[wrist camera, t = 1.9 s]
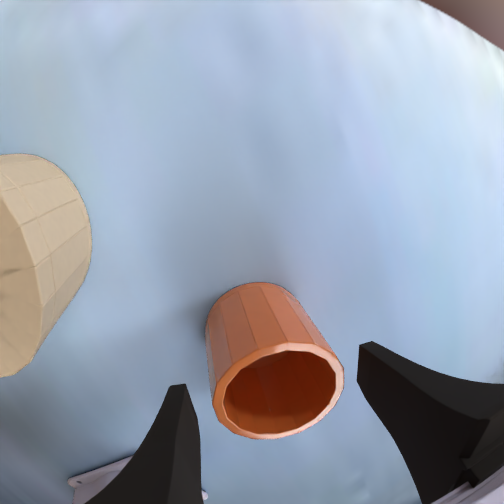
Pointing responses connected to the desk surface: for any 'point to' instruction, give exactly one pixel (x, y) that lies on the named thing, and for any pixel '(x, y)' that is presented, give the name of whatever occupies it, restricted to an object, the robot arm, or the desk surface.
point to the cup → (268, 363)
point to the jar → (37, 254)
